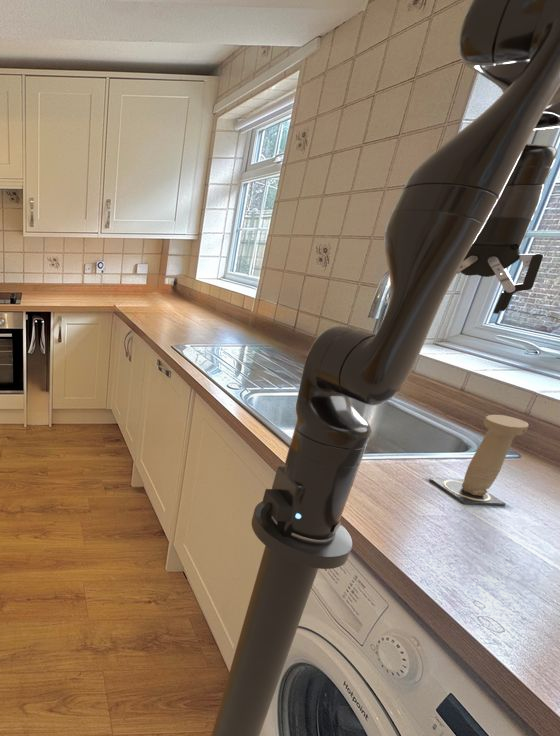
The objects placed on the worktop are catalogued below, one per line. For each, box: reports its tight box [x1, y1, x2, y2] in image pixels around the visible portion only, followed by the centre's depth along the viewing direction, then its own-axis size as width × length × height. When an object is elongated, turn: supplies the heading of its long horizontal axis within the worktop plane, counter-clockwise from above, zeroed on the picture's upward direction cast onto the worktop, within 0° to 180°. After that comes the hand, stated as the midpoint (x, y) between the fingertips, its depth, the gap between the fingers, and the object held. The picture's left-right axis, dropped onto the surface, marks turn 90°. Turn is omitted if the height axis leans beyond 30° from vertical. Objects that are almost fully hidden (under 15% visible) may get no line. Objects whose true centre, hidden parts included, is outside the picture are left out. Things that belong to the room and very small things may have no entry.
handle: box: [462, 414, 529, 496], centre depth 75 cm, size 5×6×15 cm
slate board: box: [429, 478, 506, 507], centre depth 78 cm, size 8×8×1 cm
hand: (463, 309), depth 76 cm, fingers open, 8 cm apart
